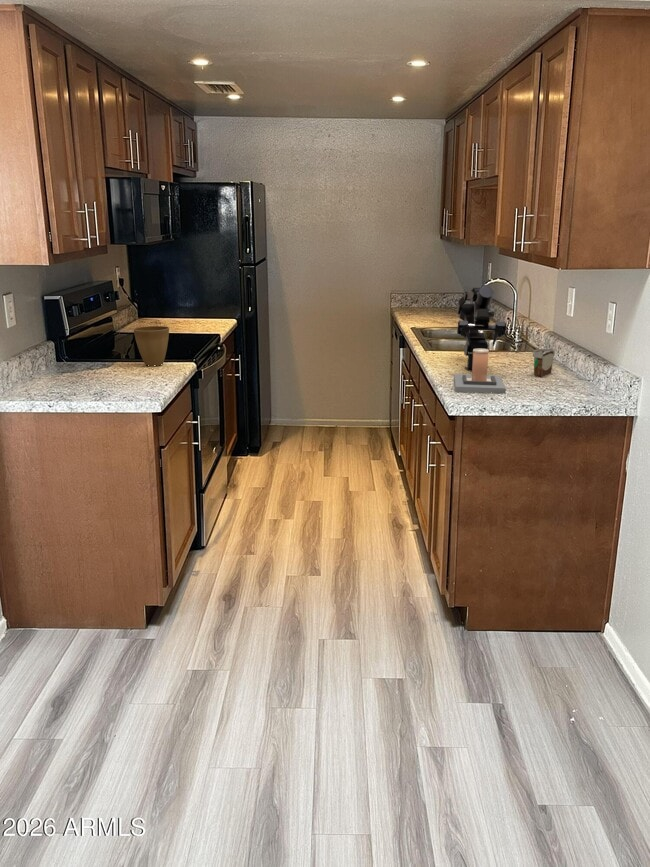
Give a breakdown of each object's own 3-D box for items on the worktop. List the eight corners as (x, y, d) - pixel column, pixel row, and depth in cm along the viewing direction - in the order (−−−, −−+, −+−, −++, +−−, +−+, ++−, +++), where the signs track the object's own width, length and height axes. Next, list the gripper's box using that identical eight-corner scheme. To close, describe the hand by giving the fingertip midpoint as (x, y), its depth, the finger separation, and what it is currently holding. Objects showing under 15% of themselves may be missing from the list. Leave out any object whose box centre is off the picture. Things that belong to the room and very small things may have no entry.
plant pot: (168, 361, 330) (166, 325, 326) (173, 367, 317) (171, 329, 312) (134, 362, 326) (132, 326, 321) (137, 369, 312) (134, 331, 308)
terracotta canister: (474, 378, 287) (476, 347, 283) (489, 380, 284) (491, 349, 280) (468, 381, 282) (470, 350, 279) (483, 383, 279) (485, 351, 275)
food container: (538, 371, 312) (540, 347, 309) (552, 373, 308) (554, 349, 305) (525, 375, 303) (527, 351, 300) (540, 378, 299) (542, 353, 296)
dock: (453, 378, 297) (454, 370, 296) (499, 379, 295) (500, 372, 294) (455, 391, 275) (455, 383, 274) (505, 393, 272) (506, 385, 271)
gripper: (459, 300, 294) (458, 332, 287) (507, 301, 292) (508, 333, 284) (457, 317, 304) (456, 349, 296) (504, 318, 301) (504, 350, 294)
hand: (481, 345), depth 292 cm, fingers open, 9 cm apart
